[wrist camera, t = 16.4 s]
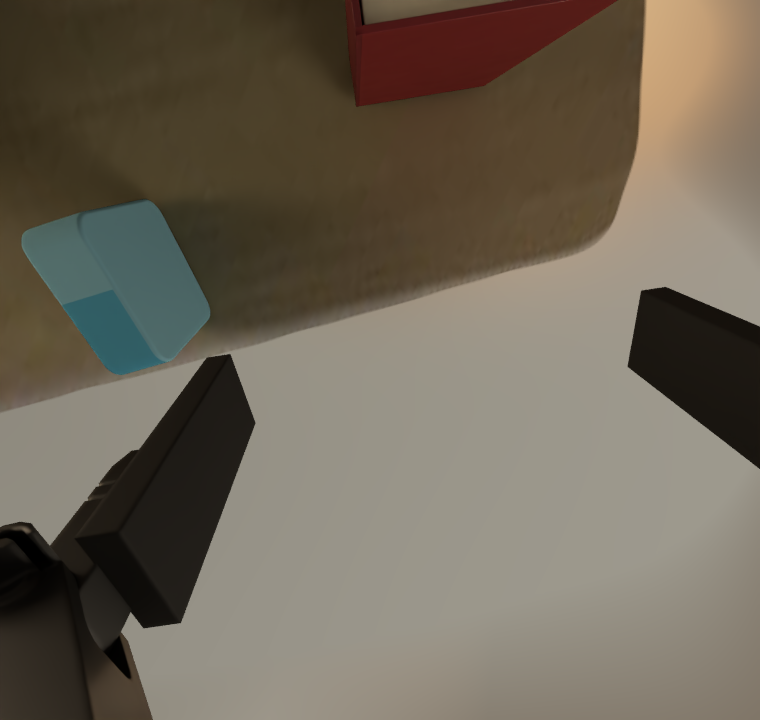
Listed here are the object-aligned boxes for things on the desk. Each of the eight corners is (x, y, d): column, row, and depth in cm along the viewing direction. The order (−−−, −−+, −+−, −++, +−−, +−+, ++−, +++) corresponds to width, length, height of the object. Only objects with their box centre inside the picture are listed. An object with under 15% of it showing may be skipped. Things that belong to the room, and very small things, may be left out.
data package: (109, 211, 36) (8, 233, 26) (154, 196, 36) (69, 213, 25) (175, 325, 42) (114, 383, 31) (214, 313, 41) (166, 368, 31)
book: (338, -89, 14) (355, 35, 15) (650, -142, 14) (635, -11, 15) (349, 56, 32) (356, 106, 33) (483, 33, 31) (484, 85, 33)
